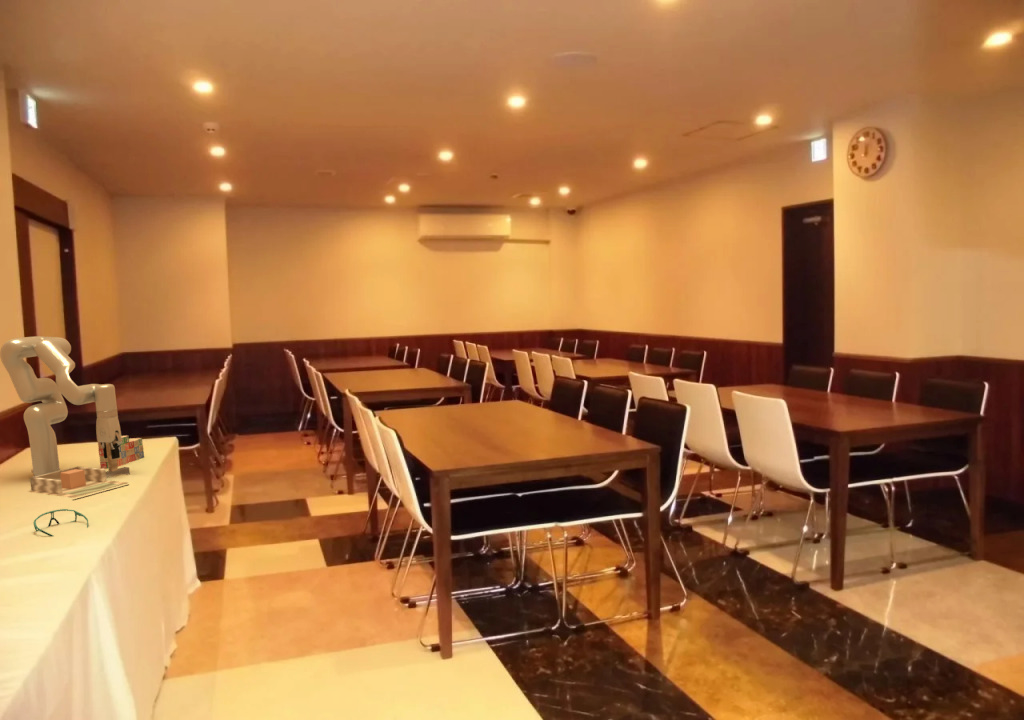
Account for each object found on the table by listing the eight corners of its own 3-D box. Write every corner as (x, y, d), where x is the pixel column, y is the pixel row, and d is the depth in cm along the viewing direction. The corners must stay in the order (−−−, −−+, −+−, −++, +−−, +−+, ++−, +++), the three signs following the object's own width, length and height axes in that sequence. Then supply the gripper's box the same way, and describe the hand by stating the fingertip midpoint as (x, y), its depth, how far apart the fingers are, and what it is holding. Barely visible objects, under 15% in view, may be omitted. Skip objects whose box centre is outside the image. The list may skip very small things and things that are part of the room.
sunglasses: (75, 519, 252) (74, 505, 251) (94, 530, 243) (93, 516, 242) (28, 531, 241) (27, 516, 240) (46, 543, 232) (45, 528, 231)
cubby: (27, 494, 291) (25, 478, 291) (83, 479, 310) (81, 465, 310) (74, 500, 277) (72, 484, 276) (129, 485, 296) (127, 470, 295)
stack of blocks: (132, 457, 352) (129, 431, 351) (144, 457, 351) (141, 431, 350) (100, 468, 331) (97, 441, 330) (113, 468, 330) (110, 441, 329)
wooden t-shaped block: (98, 480, 307) (93, 442, 306) (125, 473, 318) (121, 436, 316) (102, 481, 306) (98, 442, 304) (129, 474, 316) (125, 436, 315)
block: (61, 487, 294) (60, 472, 293) (76, 484, 299) (75, 469, 298) (70, 489, 291) (69, 473, 290) (86, 485, 296) (84, 470, 295)
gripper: (85, 415, 310) (90, 458, 312) (111, 416, 302) (116, 461, 304) (103, 412, 316) (107, 454, 318) (128, 413, 308) (133, 457, 310)
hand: (112, 457), depth 311 cm, fingers open, 4 cm apart
